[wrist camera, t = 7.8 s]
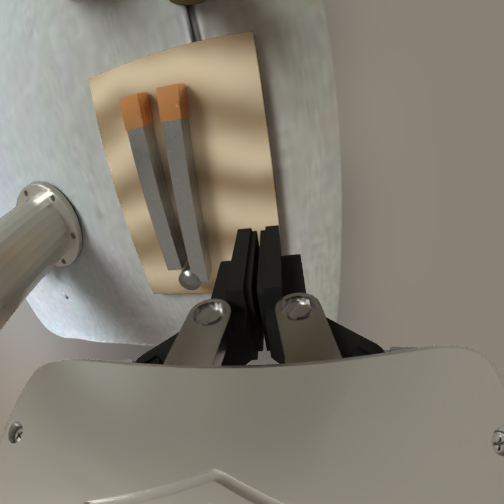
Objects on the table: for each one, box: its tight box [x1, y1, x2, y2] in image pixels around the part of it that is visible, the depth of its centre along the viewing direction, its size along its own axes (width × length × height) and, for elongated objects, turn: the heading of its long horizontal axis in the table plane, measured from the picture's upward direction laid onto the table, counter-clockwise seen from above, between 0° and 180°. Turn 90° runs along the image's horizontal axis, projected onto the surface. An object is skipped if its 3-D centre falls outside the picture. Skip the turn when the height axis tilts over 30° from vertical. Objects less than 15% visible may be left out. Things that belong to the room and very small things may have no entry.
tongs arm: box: [156, 84, 212, 290], centre depth 25 cm, size 20×3×2 cm, turn 4°
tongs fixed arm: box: [119, 92, 187, 271], centre depth 25 cm, size 18×2×2 cm, turn 8°
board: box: [89, 31, 283, 294], centre depth 26 cm, size 26×16×1 cm, turn 8°
